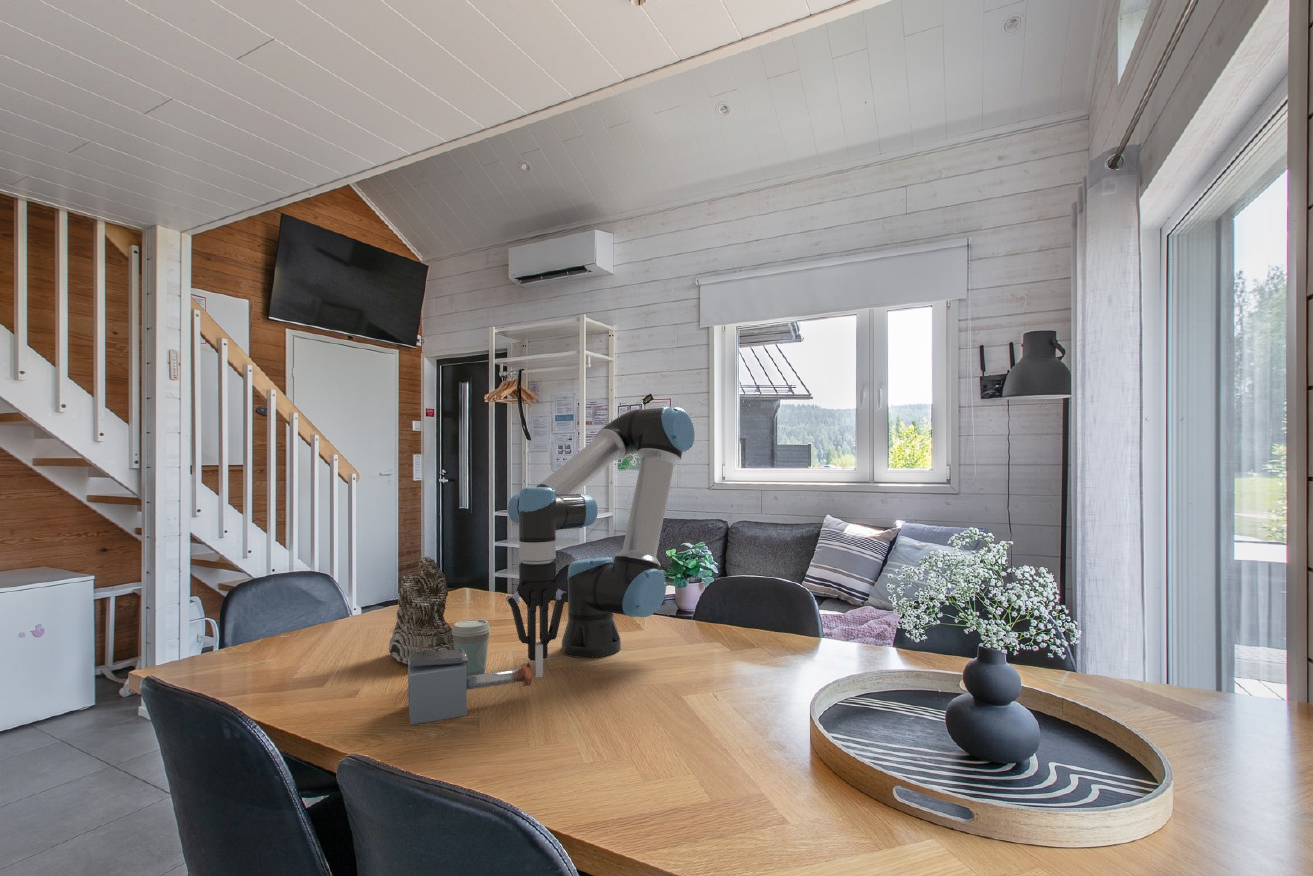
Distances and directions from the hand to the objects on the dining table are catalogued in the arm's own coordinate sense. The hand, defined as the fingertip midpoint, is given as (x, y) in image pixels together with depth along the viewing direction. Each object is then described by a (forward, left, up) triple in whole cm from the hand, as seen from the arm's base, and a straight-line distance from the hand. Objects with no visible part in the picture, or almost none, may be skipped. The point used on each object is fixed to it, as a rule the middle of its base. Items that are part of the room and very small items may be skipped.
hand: (537, 675), depth 135 cm
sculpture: (+20, -37, -4) cm, 42 cm away
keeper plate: (+20, 0, +6) cm, 20 cm away
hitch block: (+20, 0, -4) cm, 20 cm away
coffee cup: (+11, -18, -4) cm, 22 cm away
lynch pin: (+9, 0, -2) cm, 10 cm away
